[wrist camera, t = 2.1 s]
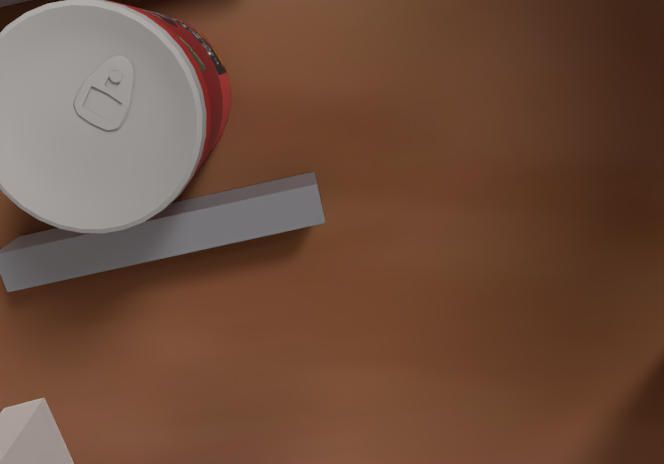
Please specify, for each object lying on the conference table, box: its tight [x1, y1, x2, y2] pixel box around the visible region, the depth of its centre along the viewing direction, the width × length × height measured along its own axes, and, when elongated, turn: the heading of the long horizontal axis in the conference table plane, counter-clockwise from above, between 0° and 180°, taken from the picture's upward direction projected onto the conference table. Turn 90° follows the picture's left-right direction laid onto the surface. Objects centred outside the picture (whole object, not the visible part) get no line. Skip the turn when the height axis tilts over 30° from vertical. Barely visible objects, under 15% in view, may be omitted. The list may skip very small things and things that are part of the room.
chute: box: [0, 0, 325, 292], centre depth 30 cm, size 15×28×3 cm, turn 102°
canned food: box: [0, 0, 231, 233], centre depth 26 cm, size 8×8×11 cm
